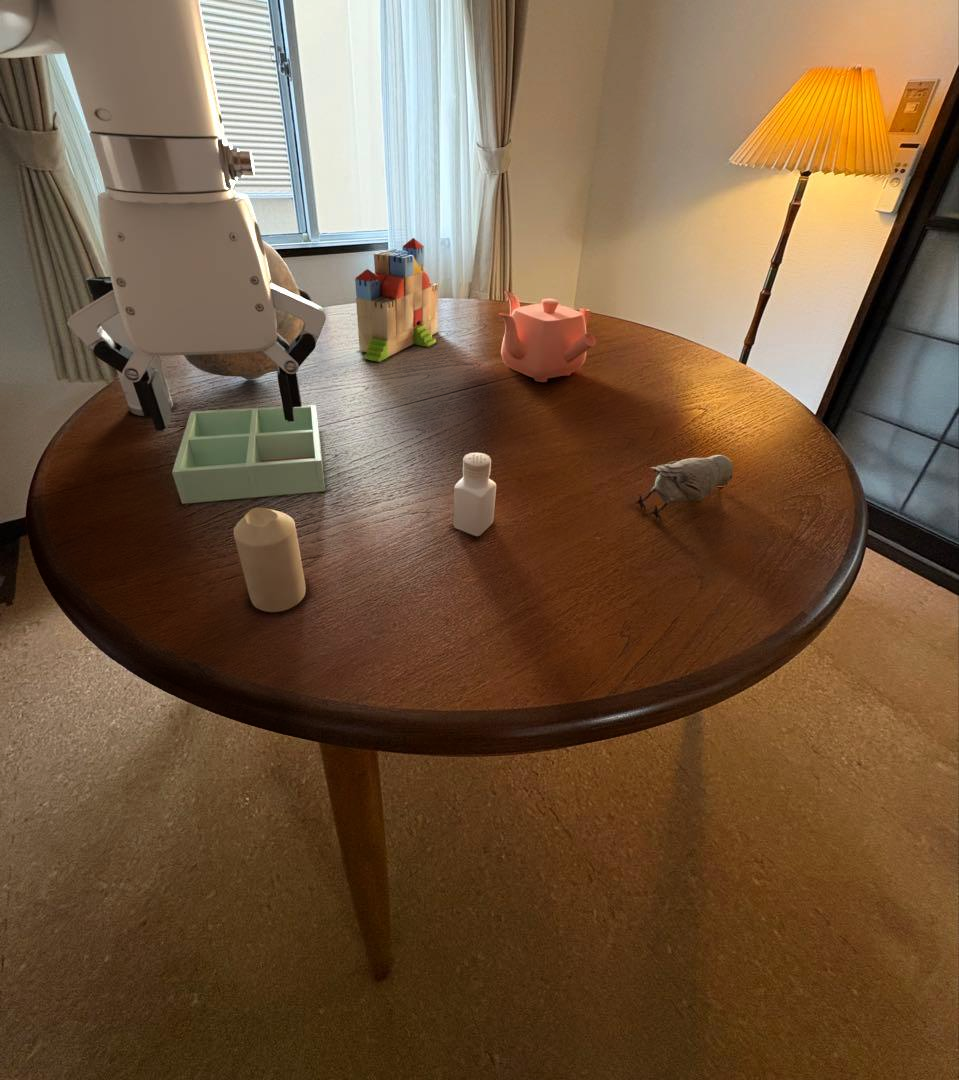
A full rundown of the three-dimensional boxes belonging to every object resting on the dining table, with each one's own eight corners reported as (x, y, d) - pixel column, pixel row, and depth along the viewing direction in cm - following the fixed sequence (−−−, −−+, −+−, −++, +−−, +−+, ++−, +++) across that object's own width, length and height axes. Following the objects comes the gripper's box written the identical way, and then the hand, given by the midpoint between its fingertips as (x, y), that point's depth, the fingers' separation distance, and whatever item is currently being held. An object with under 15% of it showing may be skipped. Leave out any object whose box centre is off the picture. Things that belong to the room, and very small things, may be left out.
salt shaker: (467, 513, 72) (471, 447, 66) (494, 523, 70) (500, 457, 65) (450, 528, 69) (453, 460, 63) (478, 539, 68) (483, 471, 62)
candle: (317, 587, 59) (305, 508, 53) (281, 620, 55) (264, 539, 49) (275, 570, 61) (259, 493, 55) (238, 601, 57) (216, 521, 51)
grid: (181, 504, 70) (171, 472, 67) (198, 440, 83) (190, 411, 80) (325, 491, 74) (321, 460, 71) (319, 432, 87) (315, 404, 85)
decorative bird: (736, 497, 79) (755, 450, 75) (656, 529, 72) (672, 479, 67) (706, 480, 83) (722, 434, 78) (626, 508, 75) (639, 459, 71)
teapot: (492, 383, 108) (498, 308, 99) (499, 352, 122) (505, 284, 114) (587, 393, 107) (601, 318, 98) (582, 360, 121) (594, 292, 113)
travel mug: (120, 414, 88) (71, 277, 76) (146, 398, 93) (105, 268, 81) (156, 419, 88) (114, 282, 75) (181, 403, 93) (145, 272, 81)
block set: (393, 366, 112) (389, 260, 100) (335, 352, 116) (325, 249, 104) (457, 331, 132) (460, 240, 121) (406, 320, 137) (404, 231, 125)
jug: (256, 416, 90) (214, 201, 72) (153, 390, 96) (91, 184, 78) (340, 369, 109) (324, 188, 91) (250, 349, 115) (218, 175, 96)
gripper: (307, 169, 40) (333, 394, 51) (31, 160, 36) (121, 407, 47) (311, 180, 35) (340, 431, 45) (-16, 171, 31) (99, 450, 41)
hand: (228, 419), depth 46 cm, fingers open, 9 cm apart
